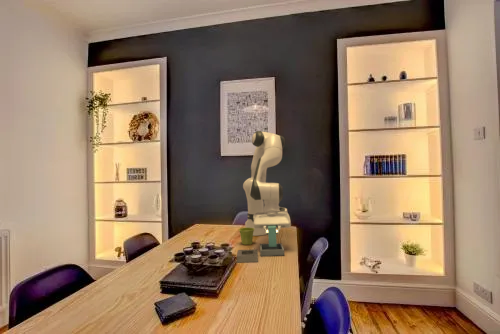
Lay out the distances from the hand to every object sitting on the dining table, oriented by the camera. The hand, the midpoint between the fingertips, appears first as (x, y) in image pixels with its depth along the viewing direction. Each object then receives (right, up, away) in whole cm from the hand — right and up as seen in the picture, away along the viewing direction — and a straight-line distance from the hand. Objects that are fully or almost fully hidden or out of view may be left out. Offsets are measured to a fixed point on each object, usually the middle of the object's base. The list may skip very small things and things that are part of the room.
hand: (272, 234), depth 135 cm
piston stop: (0, -6, 0) cm, 6 cm away
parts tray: (0, -10, 0) cm, 10 cm away
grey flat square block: (-13, -10, -8) cm, 18 cm away
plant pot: (-13, -11, +19) cm, 25 cm away
